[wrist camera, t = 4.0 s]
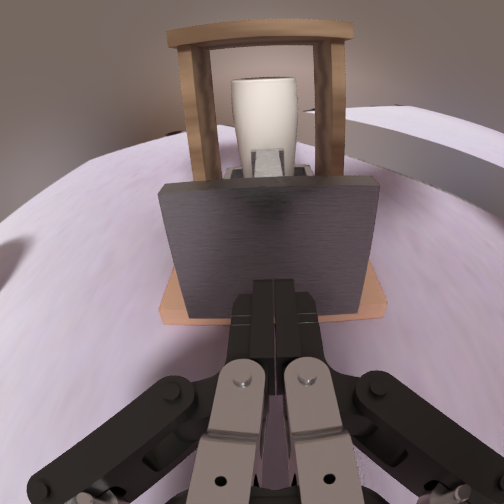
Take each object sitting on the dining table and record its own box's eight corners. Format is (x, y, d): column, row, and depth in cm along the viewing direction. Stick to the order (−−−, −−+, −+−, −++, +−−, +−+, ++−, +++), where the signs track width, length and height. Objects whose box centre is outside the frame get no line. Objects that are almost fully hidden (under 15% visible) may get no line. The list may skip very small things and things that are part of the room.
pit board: (192, 237, 31) (190, 223, 30) (348, 231, 30) (350, 217, 29) (163, 324, 22) (157, 308, 21) (382, 317, 20) (387, 301, 20)
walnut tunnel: (211, 191, 41) (194, 40, 29) (326, 187, 40) (326, 34, 28) (195, 236, 32) (166, 31, 20) (346, 230, 31) (352, 22, 19)
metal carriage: (229, 189, 40) (221, 110, 34) (309, 185, 40) (308, 107, 34) (192, 345, 19) (151, 194, 13) (354, 340, 19) (385, 185, 13)
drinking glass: (248, 226, 33) (236, 81, 24) (236, 200, 38) (225, 80, 30) (307, 215, 34) (307, 78, 25) (287, 192, 39) (283, 76, 31)
